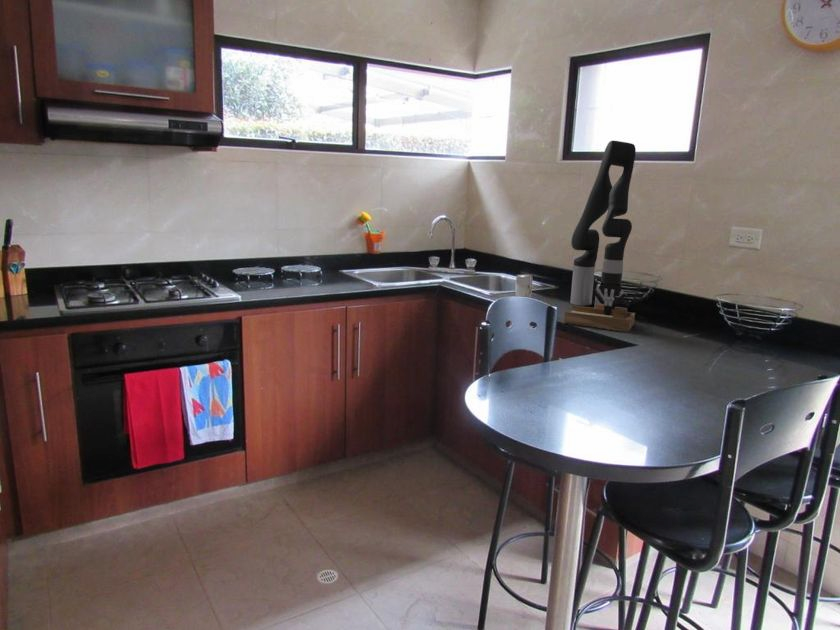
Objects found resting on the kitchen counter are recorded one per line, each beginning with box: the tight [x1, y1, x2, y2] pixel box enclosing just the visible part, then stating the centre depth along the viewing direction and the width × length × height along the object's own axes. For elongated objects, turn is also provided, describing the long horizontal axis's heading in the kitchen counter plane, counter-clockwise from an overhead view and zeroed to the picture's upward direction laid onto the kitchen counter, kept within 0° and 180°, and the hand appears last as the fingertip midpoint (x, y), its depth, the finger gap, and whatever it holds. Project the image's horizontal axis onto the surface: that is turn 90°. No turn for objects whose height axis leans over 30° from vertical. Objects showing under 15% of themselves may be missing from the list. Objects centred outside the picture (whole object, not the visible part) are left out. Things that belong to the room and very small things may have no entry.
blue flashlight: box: [514, 274, 533, 298], centre depth 255 cm, size 7×7×15 cm
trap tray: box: [563, 304, 636, 333], centre depth 238 cm, size 14×24×4 cm, turn 64°
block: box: [612, 306, 628, 319], centre depth 237 cm, size 4×4×4 cm
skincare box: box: [593, 283, 610, 309], centre depth 256 cm, size 6×4×12 cm
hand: (607, 314), depth 239 cm, fingers closed
